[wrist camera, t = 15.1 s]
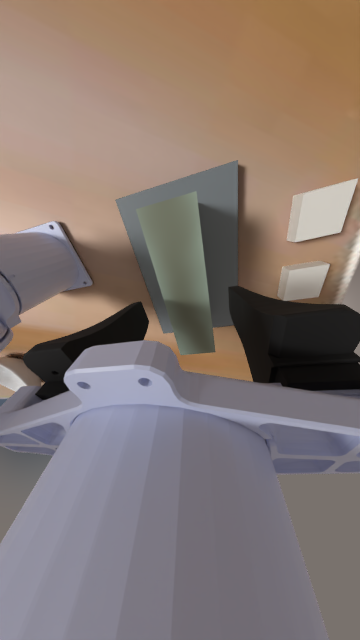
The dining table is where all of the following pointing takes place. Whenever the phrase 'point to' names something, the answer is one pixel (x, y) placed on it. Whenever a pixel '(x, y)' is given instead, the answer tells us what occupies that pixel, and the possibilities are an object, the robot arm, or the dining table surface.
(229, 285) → the slate board
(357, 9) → the dining table surface
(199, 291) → the block
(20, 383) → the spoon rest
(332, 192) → the chalk tile
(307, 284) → the chalk tile
